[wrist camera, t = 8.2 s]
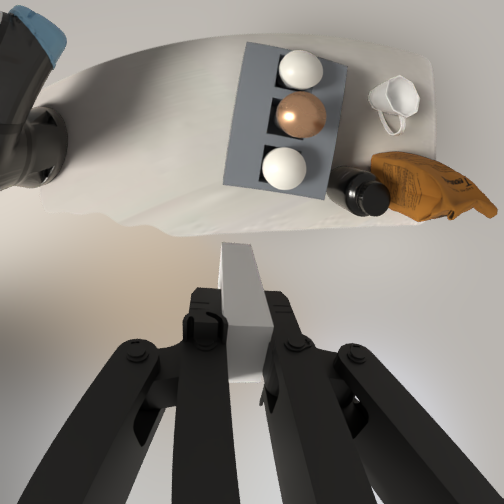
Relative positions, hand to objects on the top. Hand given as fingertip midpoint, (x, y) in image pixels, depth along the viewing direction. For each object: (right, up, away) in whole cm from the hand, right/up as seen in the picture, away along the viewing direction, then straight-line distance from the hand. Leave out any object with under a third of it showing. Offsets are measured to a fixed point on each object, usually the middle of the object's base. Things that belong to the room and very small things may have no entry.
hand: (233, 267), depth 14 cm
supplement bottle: (+16, +12, +30) cm, 36 cm away
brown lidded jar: (+6, +18, +19) cm, 27 cm away
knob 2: (+4, +14, +25) cm, 29 cm away
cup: (+23, +26, +25) cm, 43 cm away
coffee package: (+27, +15, +30) cm, 43 cm away
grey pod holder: (+5, +21, +25) cm, 33 cm away
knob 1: (+6, +26, +20) cm, 33 cm away
